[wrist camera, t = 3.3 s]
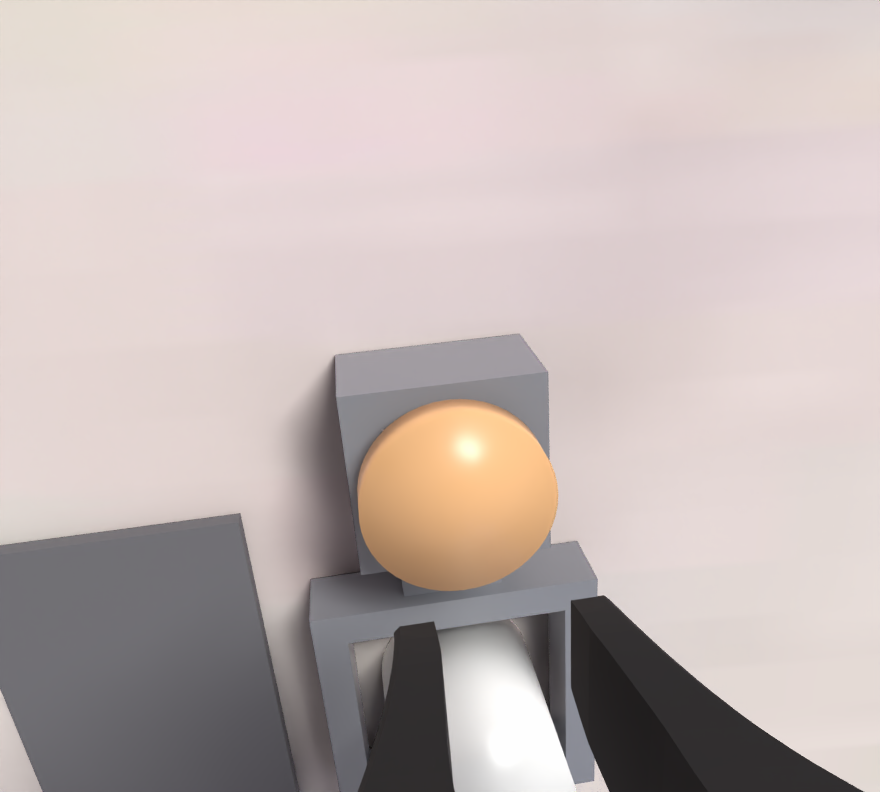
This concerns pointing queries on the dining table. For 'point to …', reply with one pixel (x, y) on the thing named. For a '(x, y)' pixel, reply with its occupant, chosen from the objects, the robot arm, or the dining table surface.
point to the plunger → (455, 495)
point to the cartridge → (495, 712)
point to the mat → (142, 662)
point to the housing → (400, 603)
